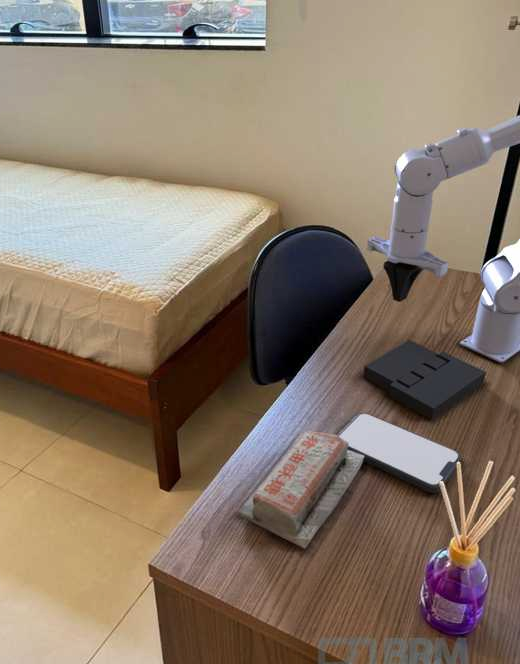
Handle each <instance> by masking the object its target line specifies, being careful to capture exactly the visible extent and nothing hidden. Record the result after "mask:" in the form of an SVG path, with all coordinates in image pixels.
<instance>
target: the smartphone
mask: <svg viewBox="0 0 520 664" xmlns="http://www.w3.org/2000/svg"><path fill="white" fill-rule="evenodd" d="M336 435H337V436H339V437H340V438H341V439H343V440H345V441H347V442H348V444H349V445H348V449H347V450H350V451H353V452H356V453H359V454H361V455H364V459H363V463H364V462H365V463H366V464H369V465H370V466H372V467H375V468H376V469H379V470H381V471H383V472H385V473H387V474H389V475H391V476H394V477H396V478H398V479H400V480H402V481H404V482H406V483H409V484H410V485H413V486H415V487H417V488H419V489H421V490H423V491H425V492H427V493H430V494H438V493H440V492H442V490H440V487H439V481H443V482H444V484H445V486H446V485H447V484H448V483H449V480H450V479H451V478H452V476H453V475H454V474H455V472H456V471H457V469H456V463H457V462H458V461H459V462H460V464H462V454H460V452H459V451H457V450H455V449H453V448H450V447H448V446H445V445H443V444H441V443H438V442H436V441H434V440H432V439H430V438H427V437H424V436H422V435H419V434H417V433H414V432H412V431H410V430H408V429H405V428H404V427H400V426H398V425H396V424H393V423H391V422H389V421H387V420H384V419H381V418H379V417H377V416H375V415H372V414H370V413H367V412H361V413H357V414H356V415H355V416H354V417H353V418H352V419H351V420H350V421H349V422H348V424H346V425H345V426H344V427H343V428H342V429H341V431H340V432H338V434H336Z"/></svg>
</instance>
